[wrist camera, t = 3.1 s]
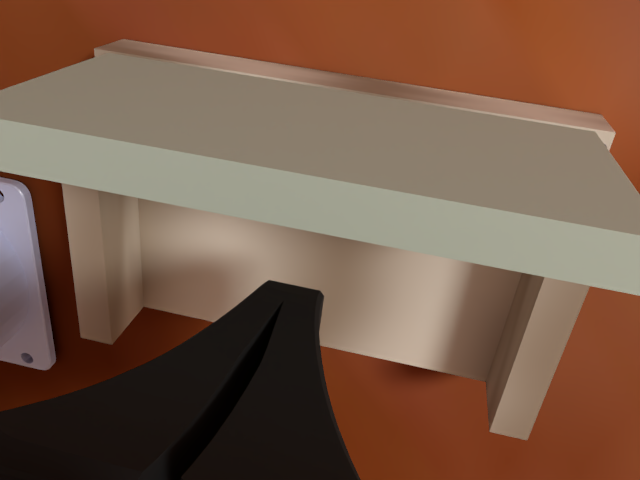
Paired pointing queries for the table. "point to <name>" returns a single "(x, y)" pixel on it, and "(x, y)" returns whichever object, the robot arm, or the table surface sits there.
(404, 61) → the table surface
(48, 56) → the table surface
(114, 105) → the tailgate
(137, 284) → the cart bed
